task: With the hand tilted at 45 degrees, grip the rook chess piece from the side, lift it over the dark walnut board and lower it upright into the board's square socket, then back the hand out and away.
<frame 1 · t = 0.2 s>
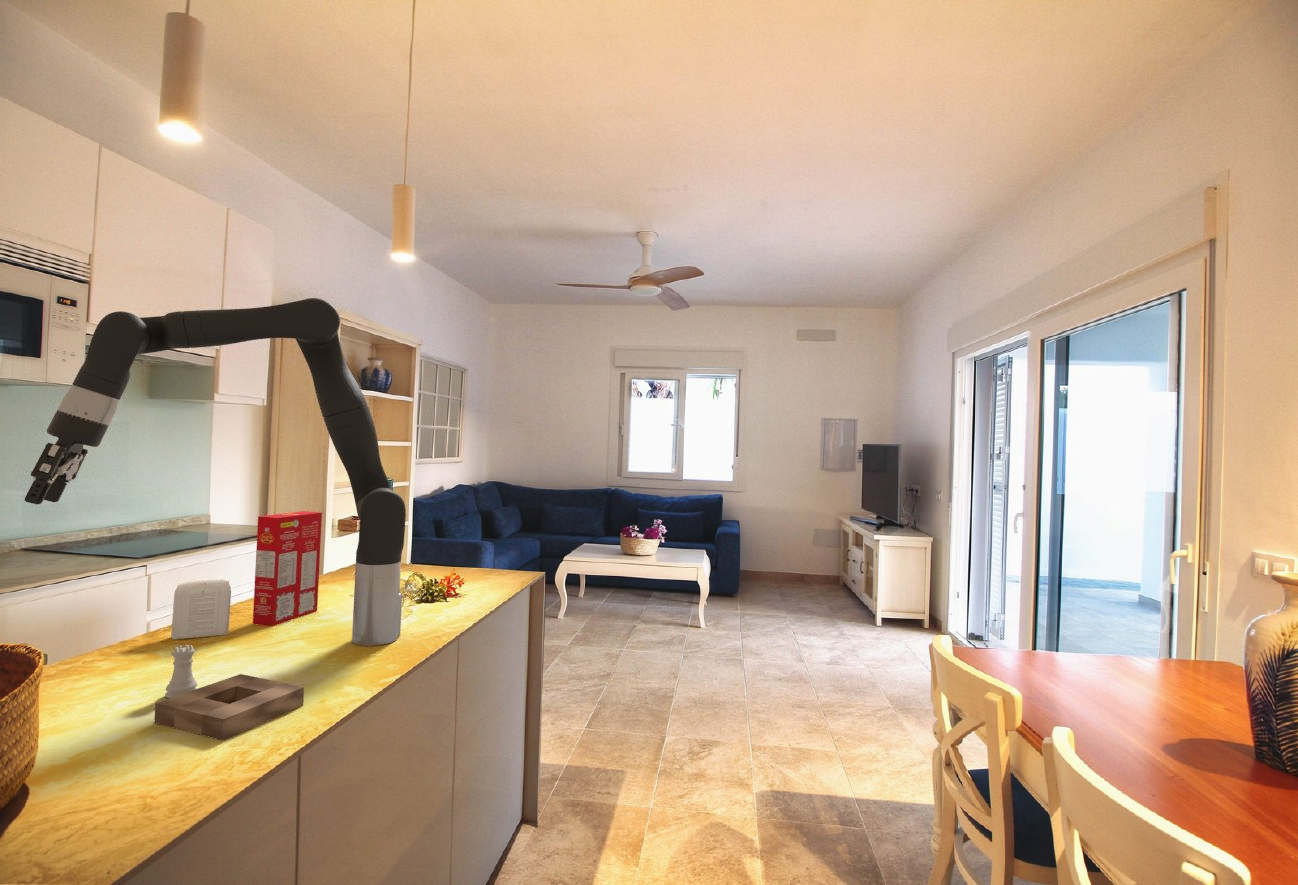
hand: (41, 502, 113), 31 cm above the counter, tool tilted 20°, fingers open, 8 cm apart
photo printer: (200, 636, 140), on the counter
food packaging: (286, 618, 157), on the counter
rook chess piece: (181, 696, 108), on the counter
socket board: (231, 713, 102), on the counter
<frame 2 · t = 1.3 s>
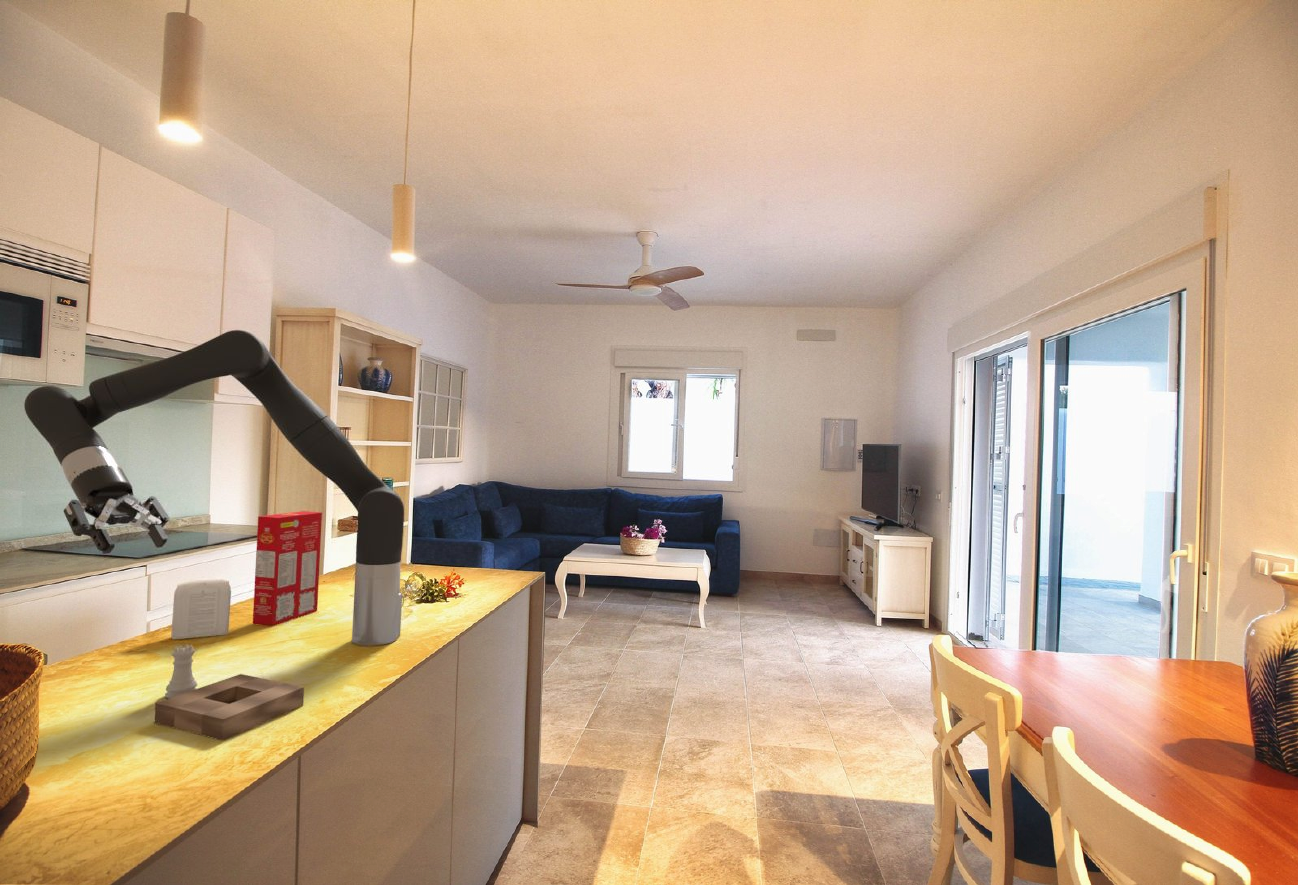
hand: (137, 547, 112), 23 cm above the counter, tool tilted 45°, fingers open, 8 cm apart
nothing on the counter moved.
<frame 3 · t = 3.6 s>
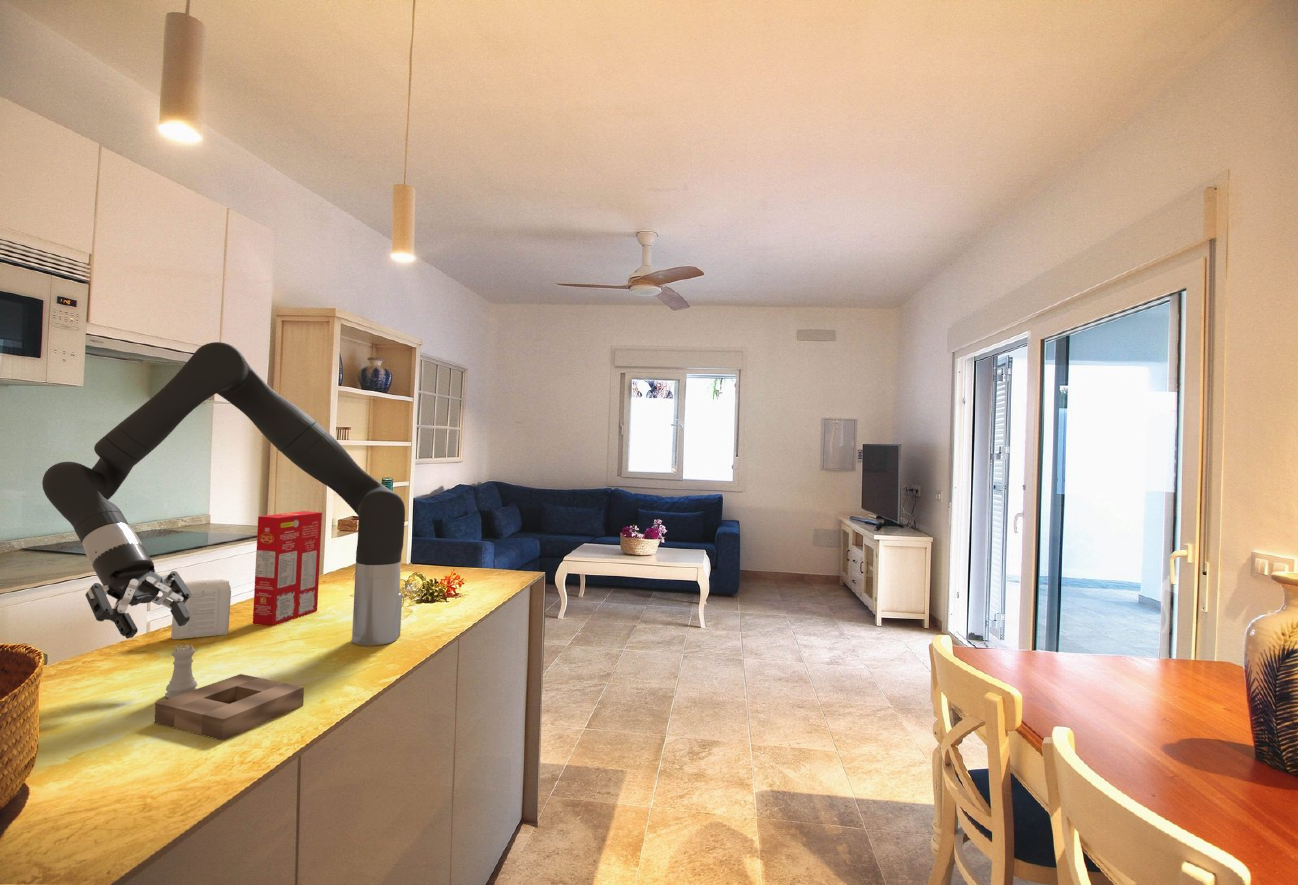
hand: (160, 628, 110), 10 cm above the counter, tool tilted 45°, fingers open, 8 cm apart
nothing on the counter moved.
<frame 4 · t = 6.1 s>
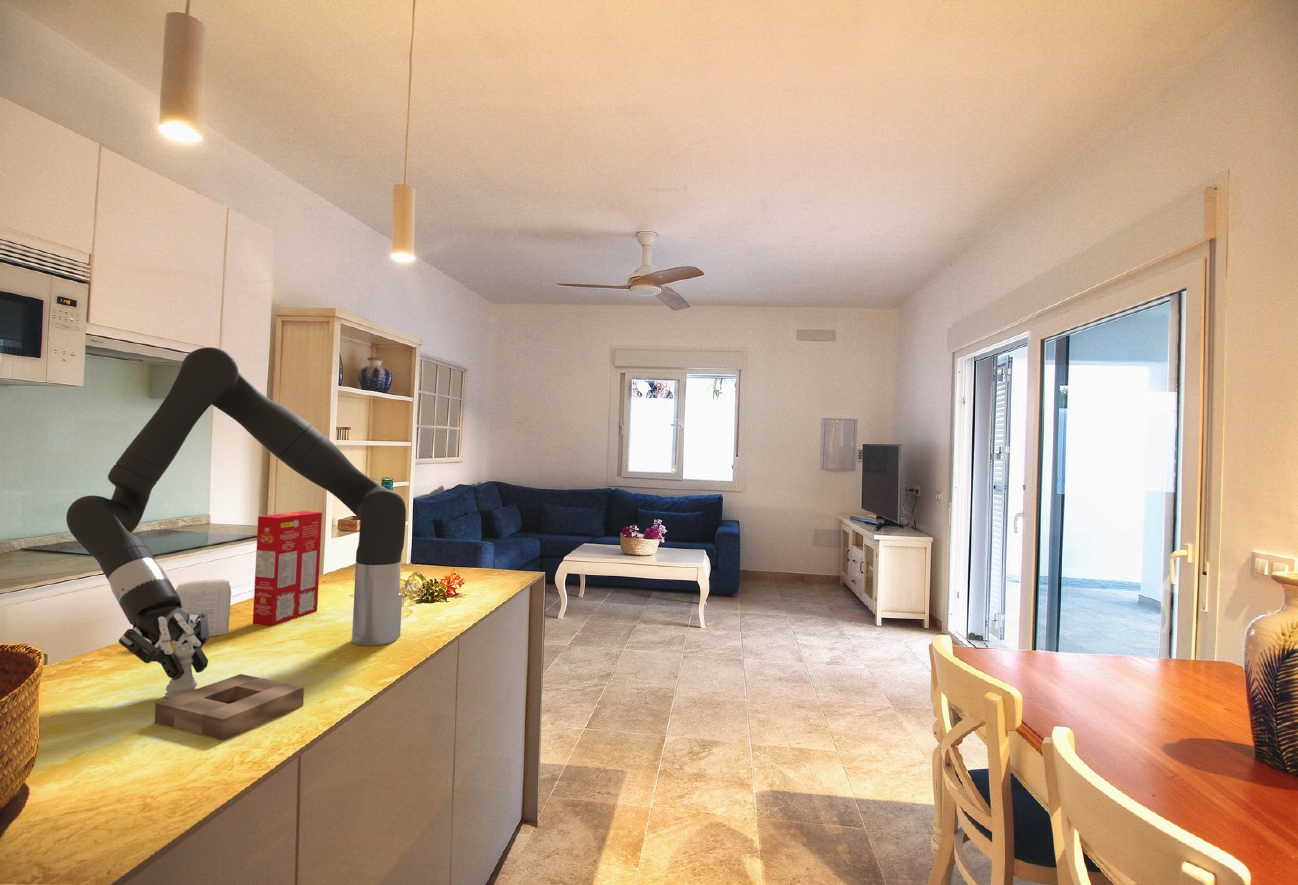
hand: (191, 672, 107), 4 cm above the counter, tool tilted 45°, fingers closed on rook chess piece, 3 cm apart
rook chess piece: (181, 696, 108), on the counter, touching gripper
everything else where it was.
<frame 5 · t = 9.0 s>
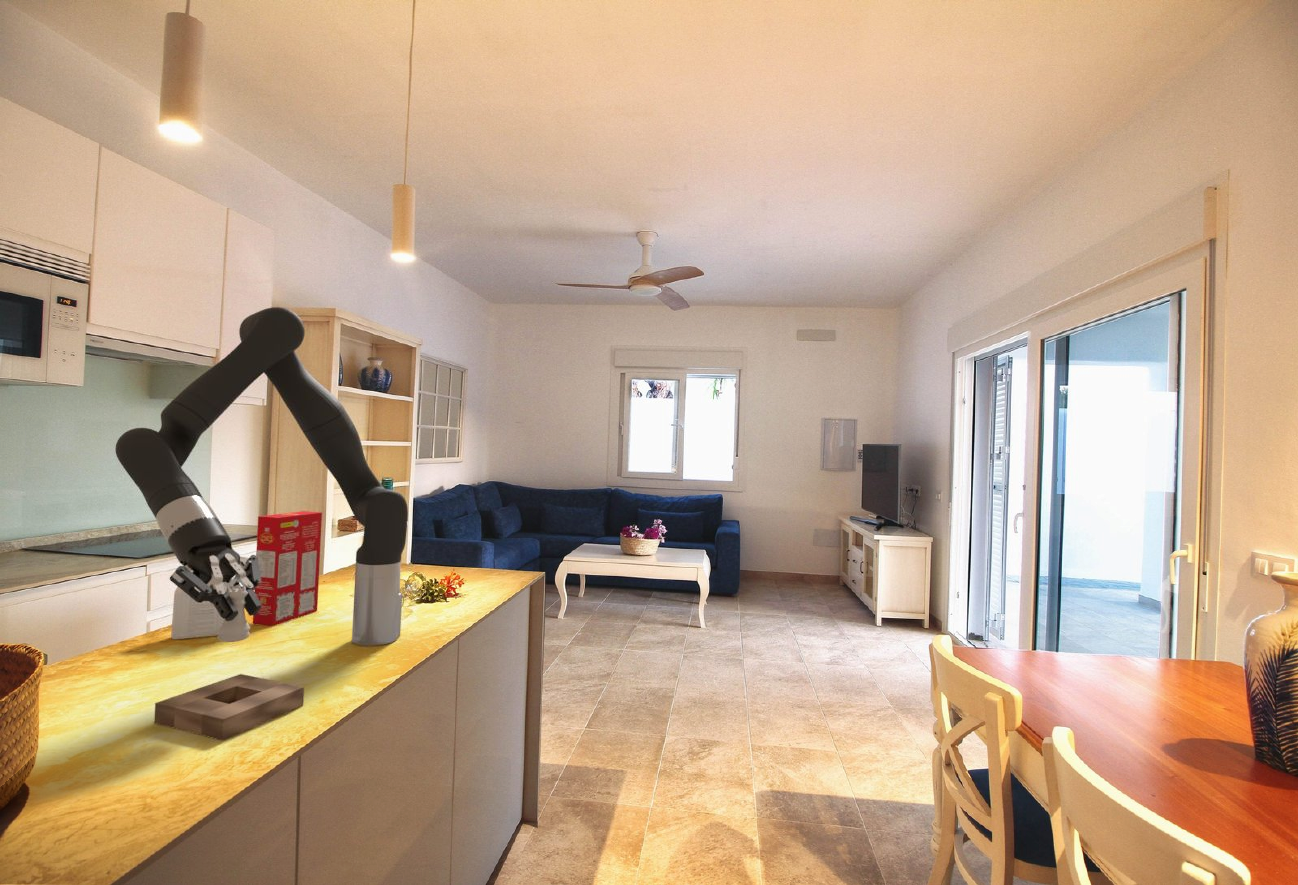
hand: (244, 614, 101), 16 cm above the counter, tool tilted 45°, fingers closed on rook chess piece, 3 cm apart
rook chess piece: (233, 639, 102), point 12 cm above the counter, touching gripper
everything else where it was.
when the fingers open (5 cm above the counter, at t = 11.8 s): rook chess piece drops 1 cm, resting in socket board.
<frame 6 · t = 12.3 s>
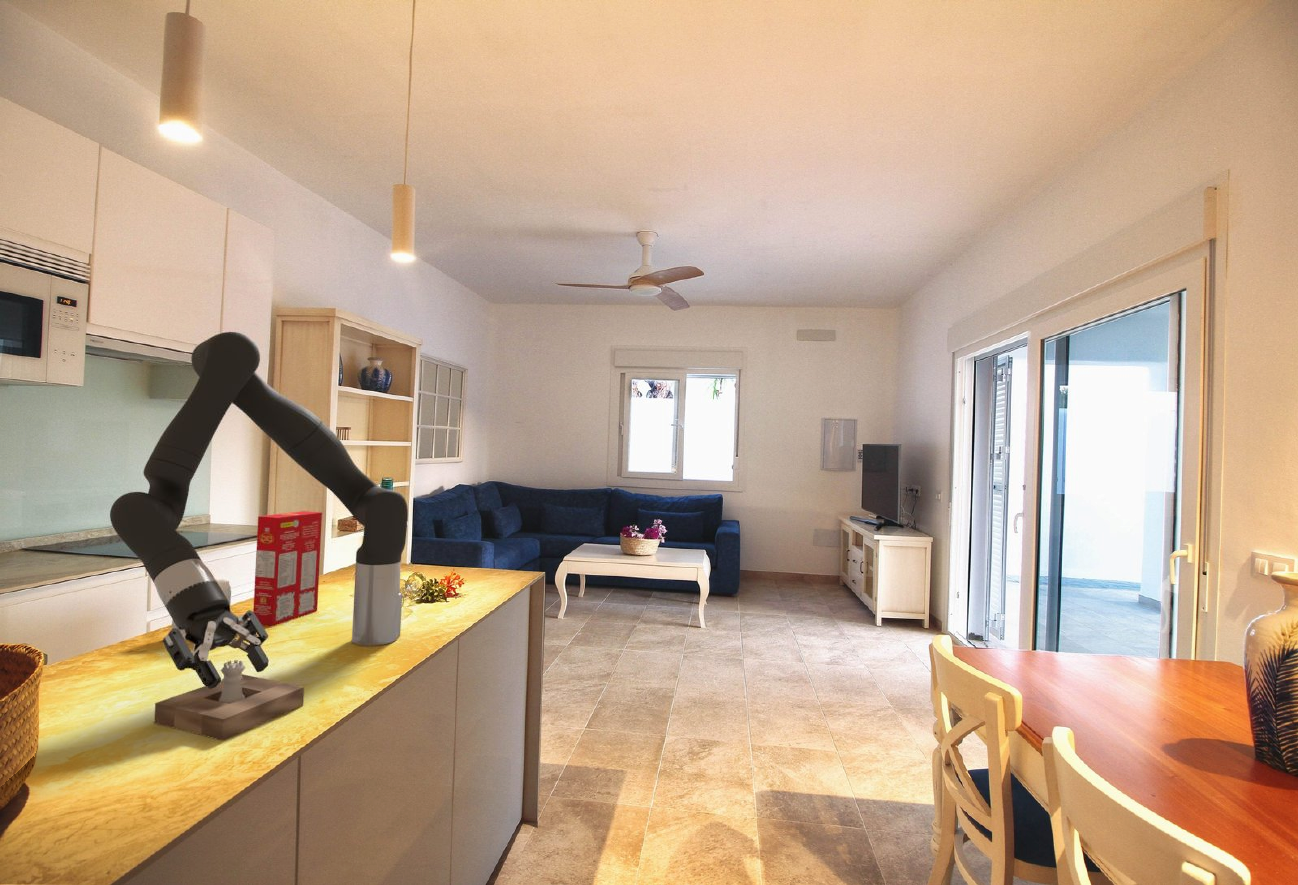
hand: (240, 676, 101), 6 cm above the counter, tool tilted 45°, fingers open, 7 cm apart
rook chess piece: (230, 715, 102), resting in socket board
everything else where it was.
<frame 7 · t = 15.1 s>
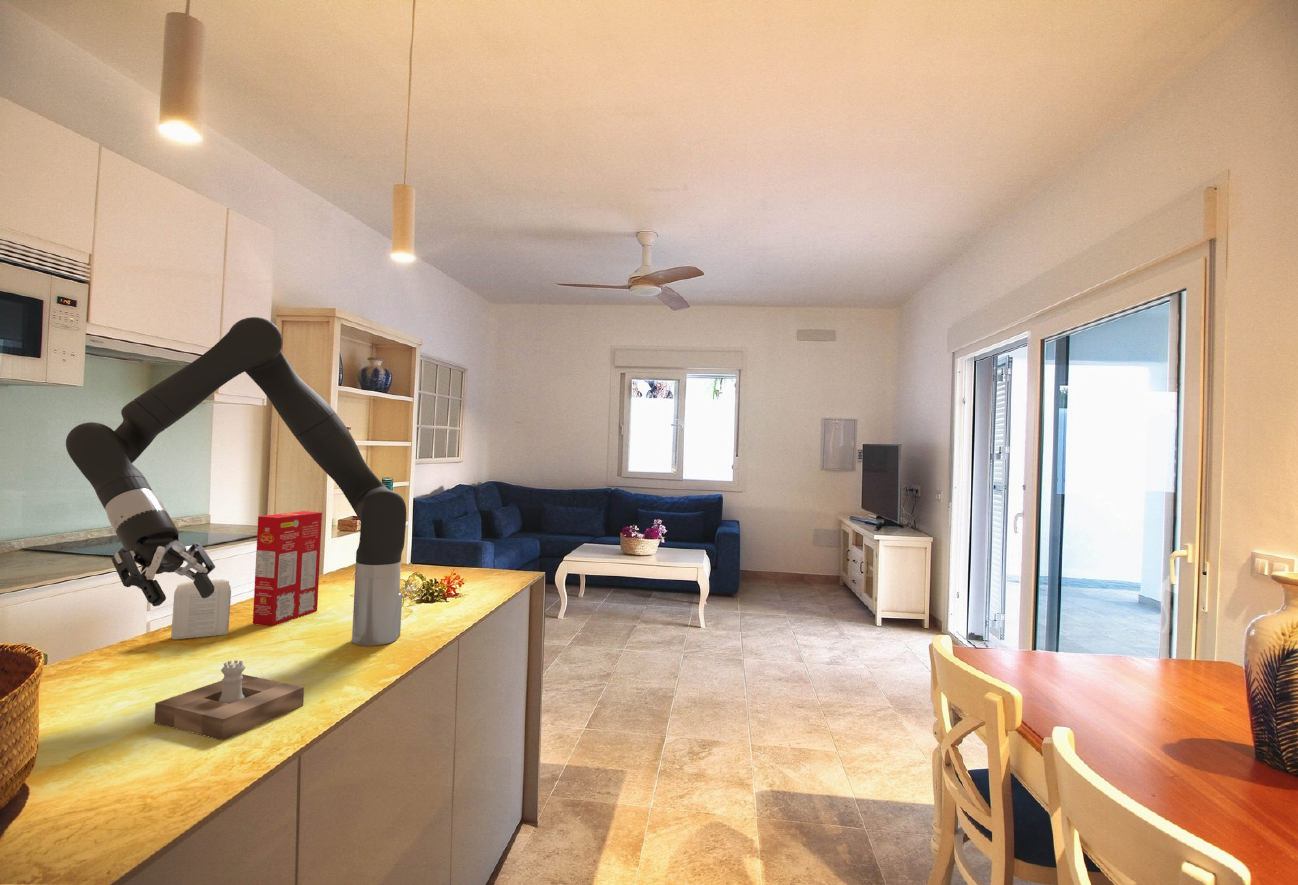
hand: (185, 599, 106), 16 cm above the counter, tool tilted 45°, fingers open, 8 cm apart
nothing on the counter moved.
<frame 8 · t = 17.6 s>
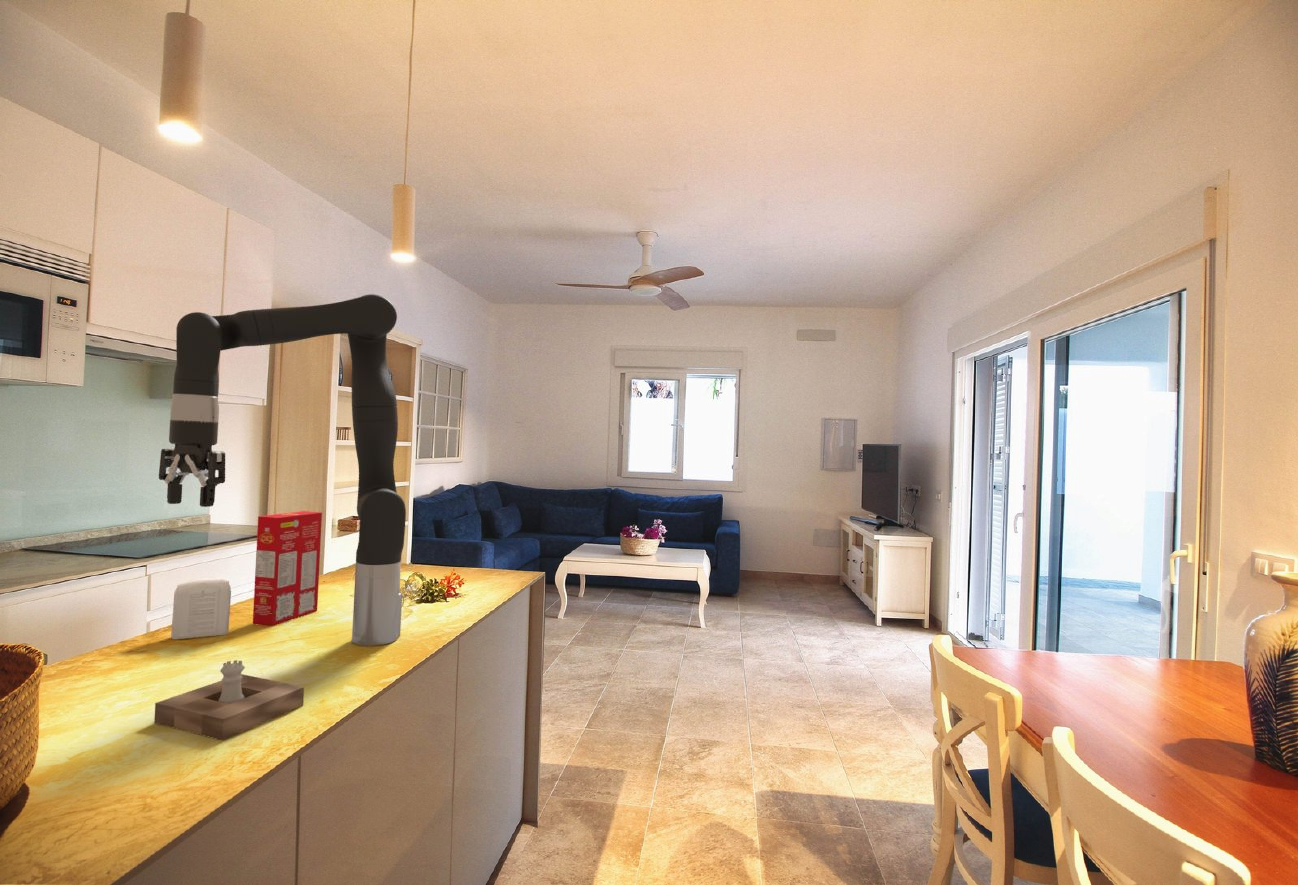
hand: (190, 505, 122), 30 cm above the counter, tool pointing down, fingers open, 8 cm apart
nothing on the counter moved.
at the end: rook chess piece 0.2 cm off-centre on the socket board, point 0.0 cm above the socket board's base; rook chess piece tilted 1°; the gripper is holding nothing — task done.
